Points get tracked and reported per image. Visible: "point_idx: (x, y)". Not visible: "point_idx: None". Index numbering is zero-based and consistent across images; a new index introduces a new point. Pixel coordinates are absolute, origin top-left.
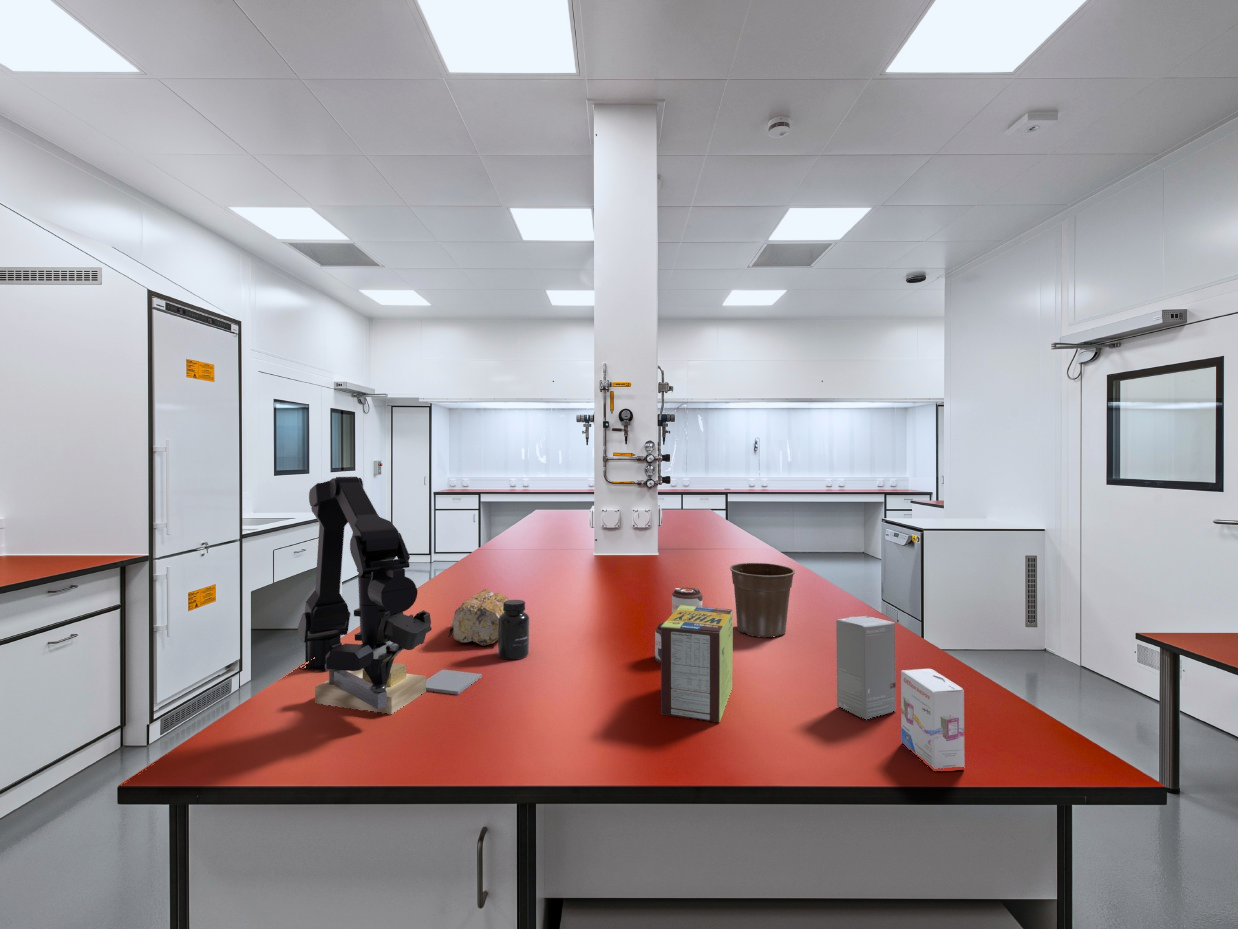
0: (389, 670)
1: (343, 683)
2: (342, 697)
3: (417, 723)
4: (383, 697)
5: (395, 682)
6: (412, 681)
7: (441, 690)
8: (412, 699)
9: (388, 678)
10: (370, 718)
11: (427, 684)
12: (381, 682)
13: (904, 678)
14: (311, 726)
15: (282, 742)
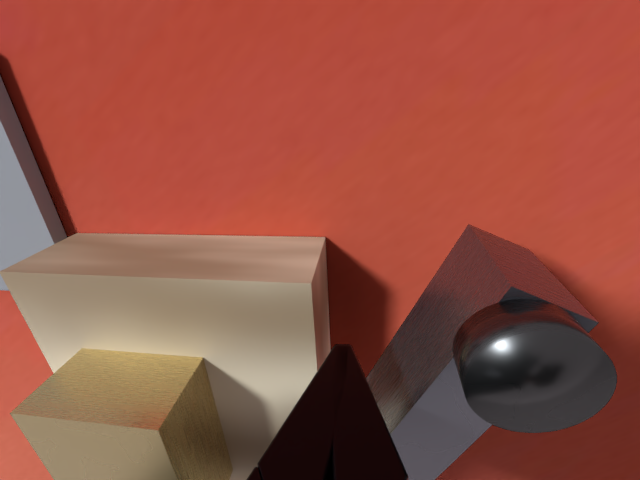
0: (268, 477)
1: None
2: None
3: (373, 25)
4: (521, 271)
5: (160, 362)
6: (91, 297)
7: (22, 159)
8: (168, 237)
9: (183, 408)
10: (384, 299)
11: None
12: (377, 411)
13: None
14: (495, 440)
15: (635, 457)
